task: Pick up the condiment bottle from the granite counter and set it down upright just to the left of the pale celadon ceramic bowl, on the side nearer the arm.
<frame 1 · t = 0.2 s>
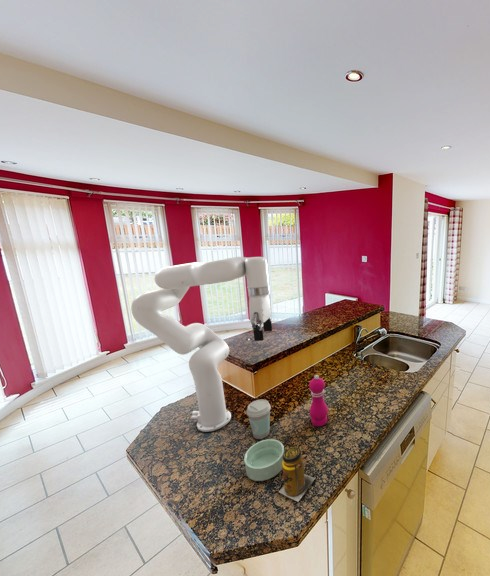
hand: (263, 335, 105), 37 cm above the worktop, tool pointing down, fingers open, 9 cm apart
coffee cup: (261, 434, 106), on the worktop
pepper mill: (319, 421, 112), on the worktop
condiment: (297, 486, 84), on the worktop
bowl: (265, 466, 91), on the worktop
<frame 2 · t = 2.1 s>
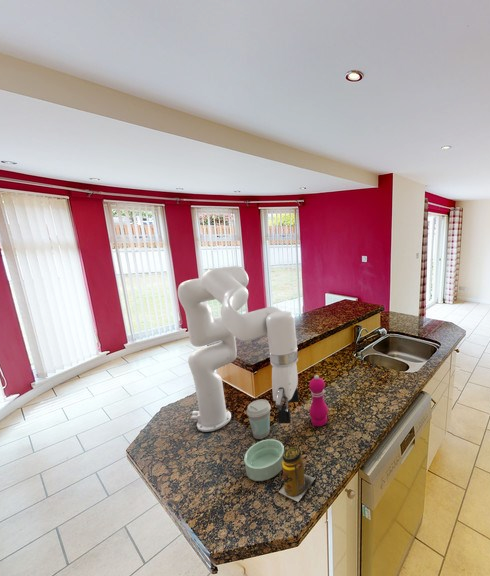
hand: (289, 411, 81), 23 cm above the worktop, tool pointing down, fingers open, 9 cm apart
nothing on the worktop moved.
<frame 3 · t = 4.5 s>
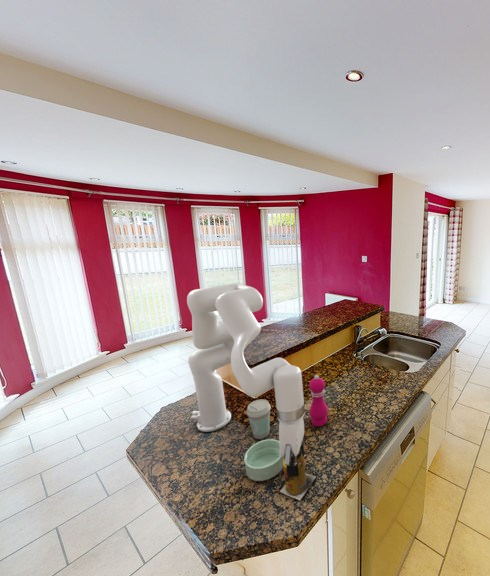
hand: (296, 465, 82), 7 cm above the worktop, tool pointing down, fingers closed on condiment, 6 cm apart
condiment: (298, 485, 84), on the worktop, touching gripper
everything else where it was.
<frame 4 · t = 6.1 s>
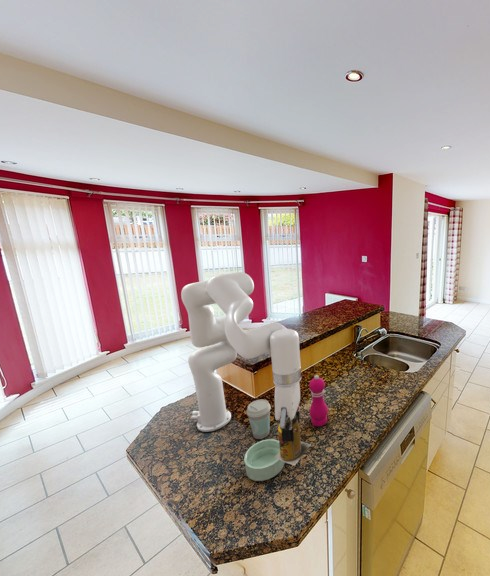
hand: (291, 431, 80), 18 cm above the worktop, tool pointing down, fingers closed on condiment, 6 cm apart
condiment: (293, 452, 83), point 11 cm above the worktop, touching gripper
everything else where it was.
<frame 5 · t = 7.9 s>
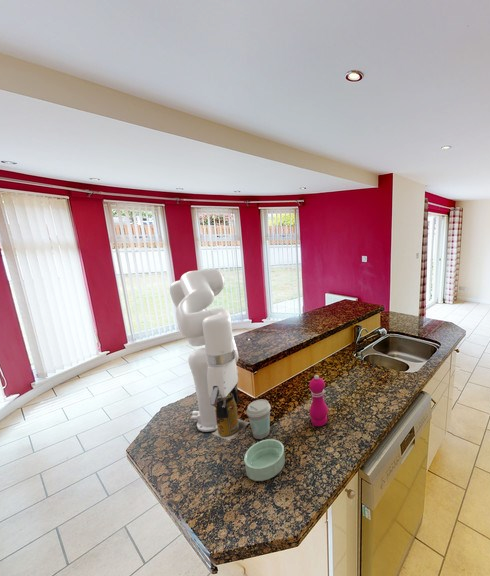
hand: (228, 409, 87), 21 cm above the worktop, tool pointing down, fingers closed on condiment, 6 cm apart
condiment: (231, 429, 89), point 14 cm above the worktop, touching gripper
everything else where it was.
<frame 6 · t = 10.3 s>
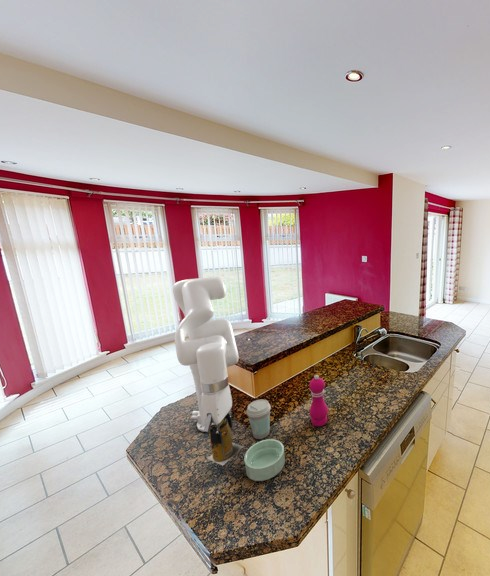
hand: (222, 434, 89), 12 cm above the worktop, tool pointing down, fingers closed on condiment, 6 cm apart
condiment: (225, 453, 92), point 4 cm above the worktop, touching gripper
everything else where it was.
when the fingers open (7 cm above the worktop, at t = 11.8 s): condiment stays where it is, on the worktop.
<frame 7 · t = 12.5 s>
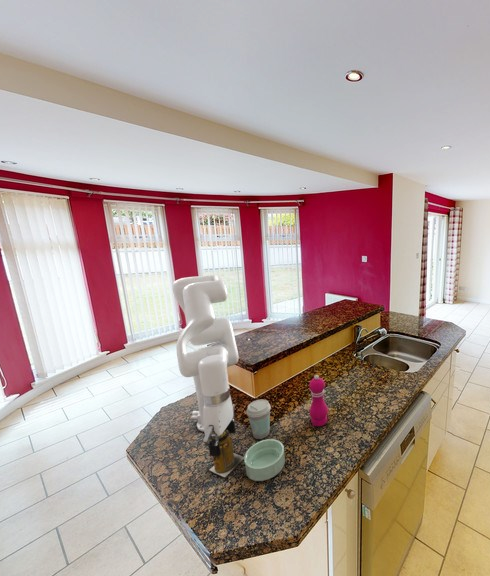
hand: (223, 443, 90), 8 cm above the worktop, tool pointing down, fingers open, 9 cm apart
condiment: (227, 464, 92), on the worktop
everything else where it was.
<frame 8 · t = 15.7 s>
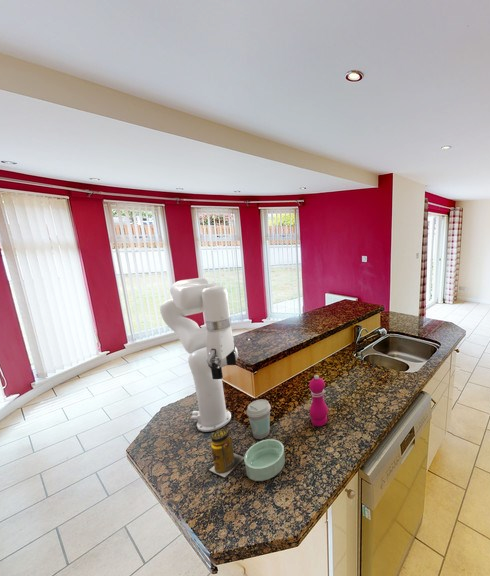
hand: (225, 371, 96), 28 cm above the worktop, tool pointing down, fingers open, 9 cm apart
nothing on the worktop moved.
at the end: condiment inside the target area on the worktop beside the bowl (0.7 cm from its centre), on the worktop; condiment tilted 0°; the gripper is holding nothing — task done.
